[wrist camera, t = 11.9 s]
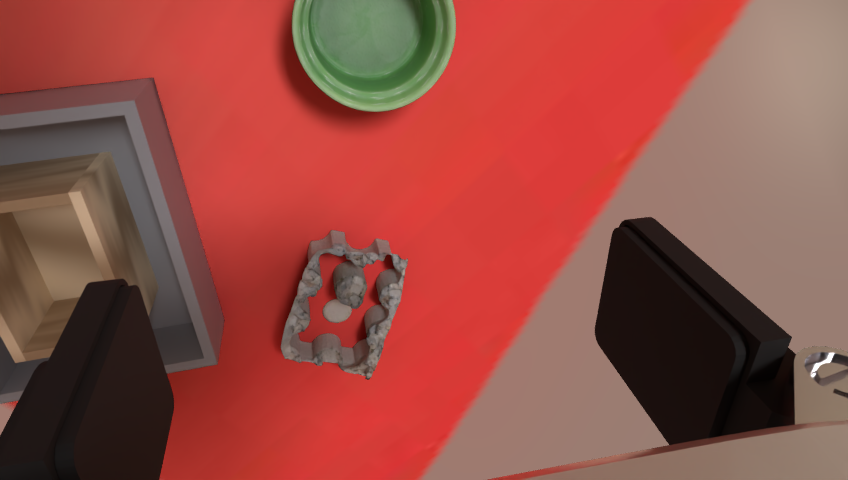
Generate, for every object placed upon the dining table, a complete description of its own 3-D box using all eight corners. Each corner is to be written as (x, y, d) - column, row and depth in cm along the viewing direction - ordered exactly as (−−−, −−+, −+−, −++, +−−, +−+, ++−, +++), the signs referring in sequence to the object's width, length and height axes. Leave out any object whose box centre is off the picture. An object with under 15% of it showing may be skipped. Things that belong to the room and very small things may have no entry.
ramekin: (443, 82, 38) (460, 100, 34) (306, 102, 37) (308, 123, 33) (432, -72, 34) (451, -71, 30) (276, -55, 33) (275, -52, 29)
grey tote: (-110, 106, 32) (-171, 135, 28) (153, 77, 34) (134, 100, 30) (22, 354, 41) (-9, 405, 37) (224, 320, 43) (217, 364, 39)
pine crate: (-15, 167, 34) (-68, 211, 29) (110, 151, 35) (80, 191, 30) (50, 304, 39) (15, 363, 34) (158, 287, 40) (140, 341, 35)
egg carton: (364, 351, 48) (370, 386, 44) (273, 335, 45) (272, 371, 42) (411, 243, 44) (421, 272, 40) (314, 218, 41) (316, 247, 38)
